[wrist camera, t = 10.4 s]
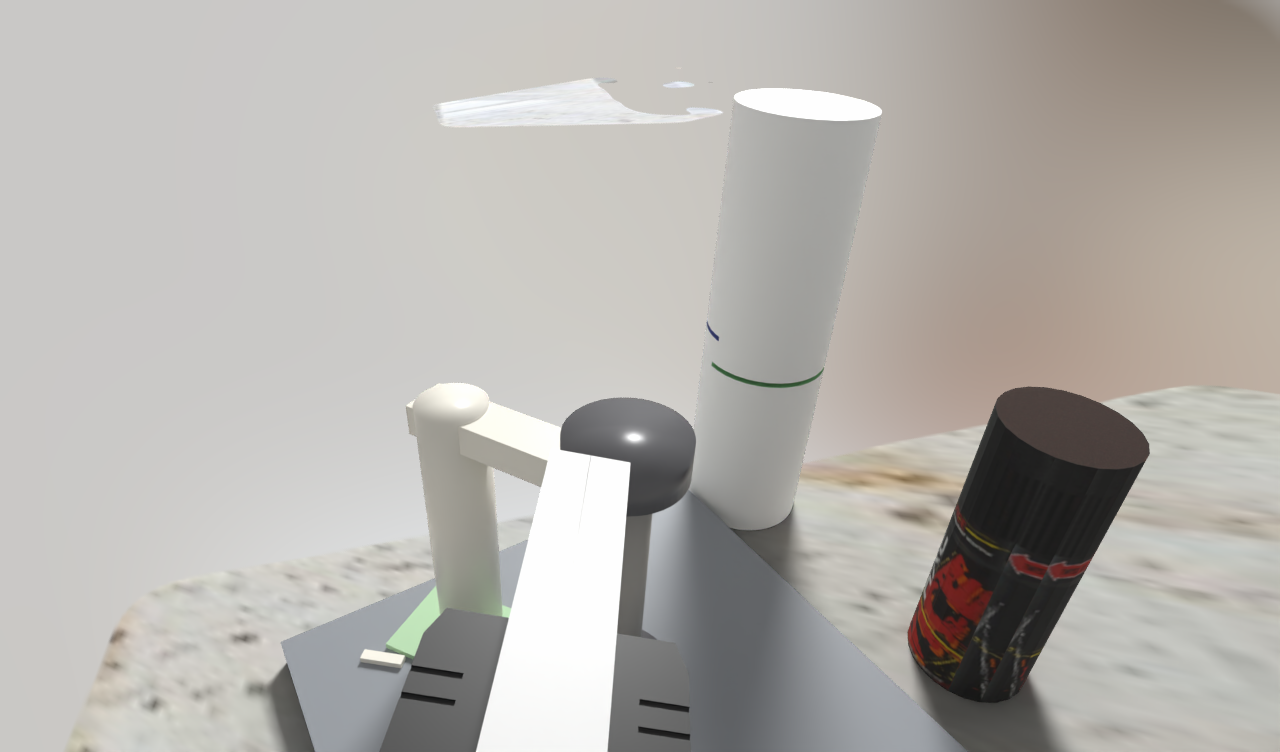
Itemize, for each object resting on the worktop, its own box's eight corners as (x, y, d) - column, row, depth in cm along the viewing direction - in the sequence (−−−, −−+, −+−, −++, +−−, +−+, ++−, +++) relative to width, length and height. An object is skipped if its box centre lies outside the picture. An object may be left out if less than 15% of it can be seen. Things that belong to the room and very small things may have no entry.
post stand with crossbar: (692, 672, 34) (730, 420, 27) (638, 775, 30) (666, 510, 22) (482, 573, 39) (463, 332, 31) (410, 651, 35) (366, 393, 27)
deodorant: (1041, 710, 36) (1178, 478, 28) (919, 692, 36) (1019, 459, 28) (1005, 615, 41) (1112, 395, 33) (898, 600, 41) (979, 379, 33)
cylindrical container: (765, 453, 52) (834, 88, 39) (812, 520, 47) (912, 120, 33) (672, 466, 50) (712, 88, 37) (709, 538, 45) (772, 121, 31)
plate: (674, 495, 48) (676, 474, 47) (963, 775, 33) (975, 752, 32) (286, 661, 36) (279, 637, 35) (464, 1225, 21) (459, 1210, 20)
